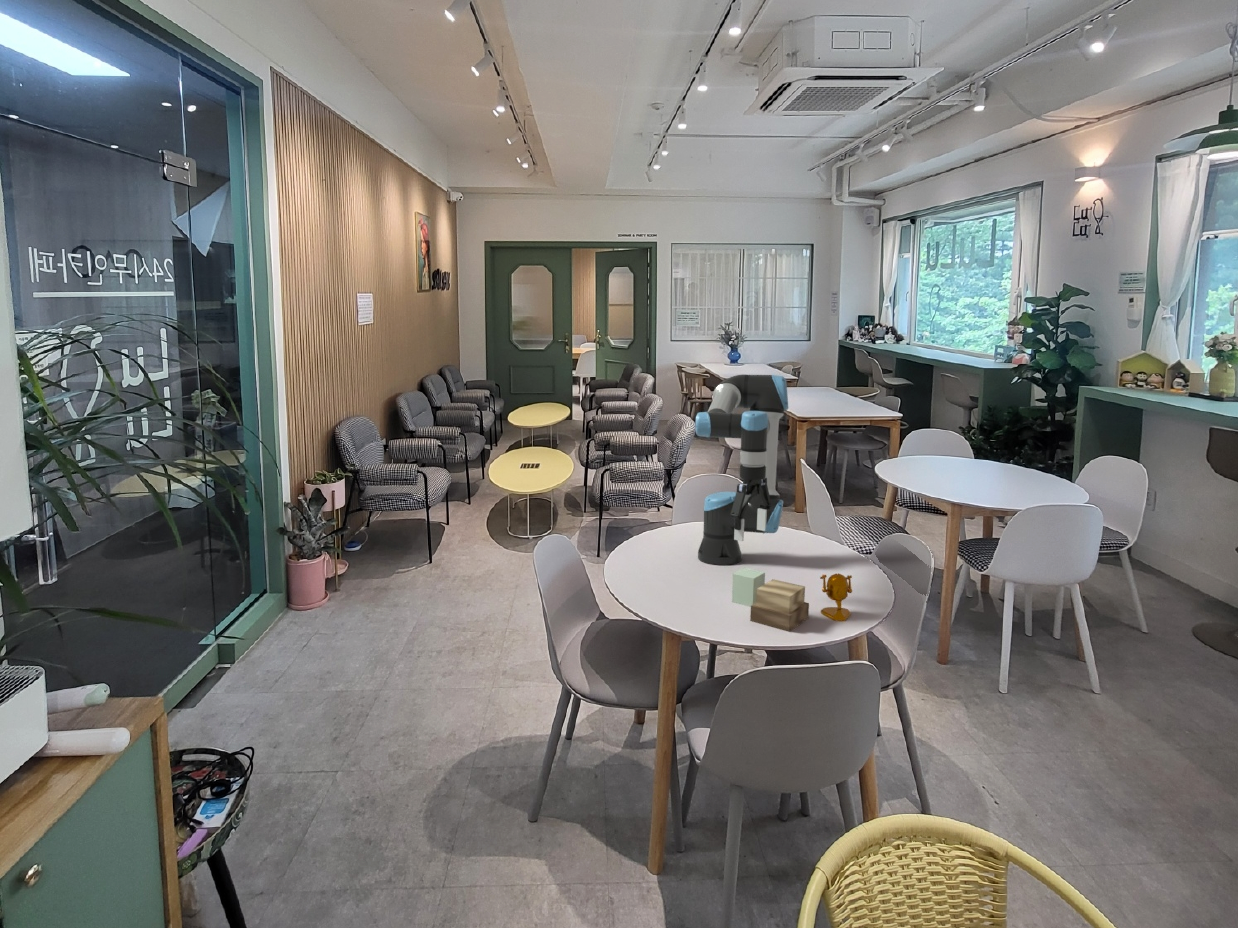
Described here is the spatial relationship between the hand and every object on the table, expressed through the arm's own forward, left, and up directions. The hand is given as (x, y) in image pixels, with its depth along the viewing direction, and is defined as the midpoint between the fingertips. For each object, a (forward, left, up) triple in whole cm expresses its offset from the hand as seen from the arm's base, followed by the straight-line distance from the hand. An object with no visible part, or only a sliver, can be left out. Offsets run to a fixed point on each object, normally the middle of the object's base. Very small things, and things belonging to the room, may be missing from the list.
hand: (750, 535), depth 241 cm
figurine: (-7, +25, -21) cm, 33 cm away
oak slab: (+7, +14, -16) cm, 23 cm away
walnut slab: (+7, +14, -21) cm, 26 cm away
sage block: (0, 0, -21) cm, 21 cm away
